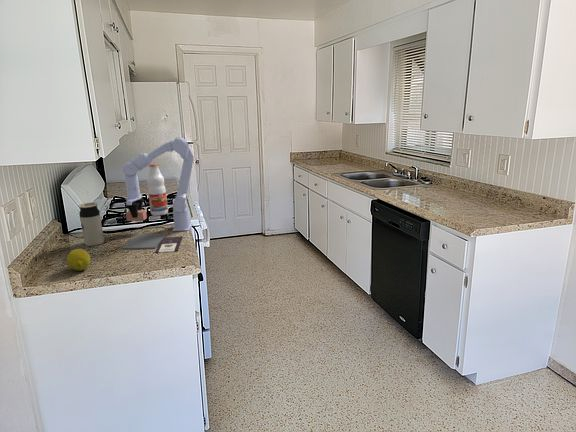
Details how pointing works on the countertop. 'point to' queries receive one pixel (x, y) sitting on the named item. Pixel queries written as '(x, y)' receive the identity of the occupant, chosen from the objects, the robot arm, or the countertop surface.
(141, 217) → the block
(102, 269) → the countertop surface
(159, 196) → the fruit juice
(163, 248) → the chocolate bar
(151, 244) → the mat
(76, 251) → the lemon
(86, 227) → the travel mug
